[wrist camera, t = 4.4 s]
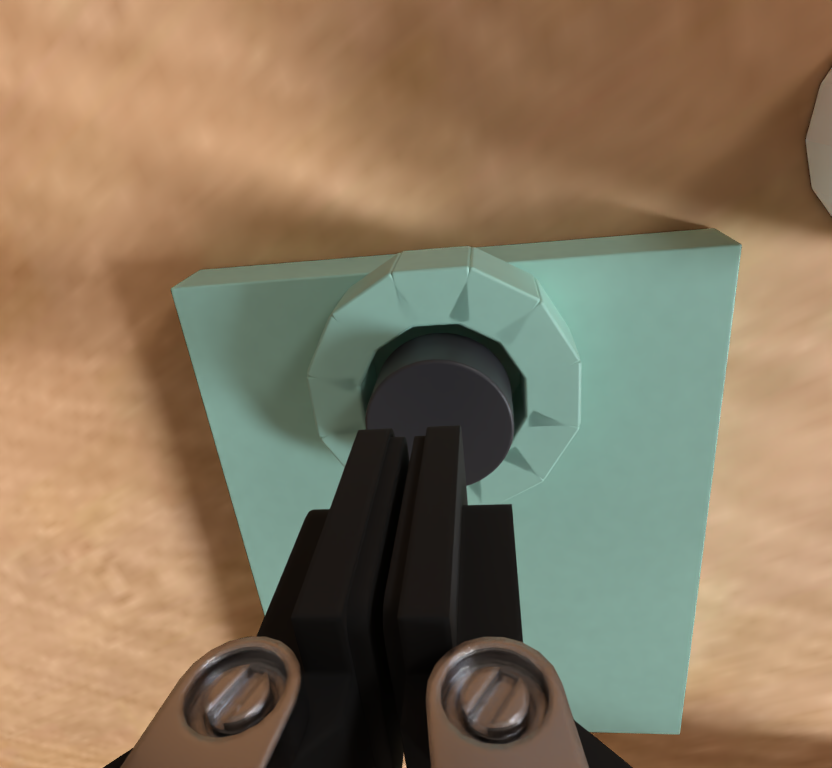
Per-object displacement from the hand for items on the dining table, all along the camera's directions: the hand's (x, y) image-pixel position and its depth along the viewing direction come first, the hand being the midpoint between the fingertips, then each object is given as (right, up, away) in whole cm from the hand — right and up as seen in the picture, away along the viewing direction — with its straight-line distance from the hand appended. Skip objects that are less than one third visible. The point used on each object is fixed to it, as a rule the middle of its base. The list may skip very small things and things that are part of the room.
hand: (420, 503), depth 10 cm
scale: (+1, -2, +8) cm, 9 cm away
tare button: (+1, +2, +3) cm, 4 cm away
